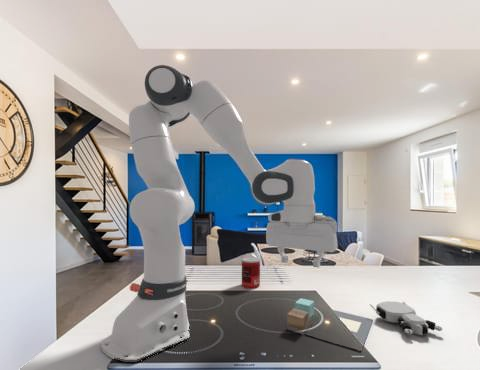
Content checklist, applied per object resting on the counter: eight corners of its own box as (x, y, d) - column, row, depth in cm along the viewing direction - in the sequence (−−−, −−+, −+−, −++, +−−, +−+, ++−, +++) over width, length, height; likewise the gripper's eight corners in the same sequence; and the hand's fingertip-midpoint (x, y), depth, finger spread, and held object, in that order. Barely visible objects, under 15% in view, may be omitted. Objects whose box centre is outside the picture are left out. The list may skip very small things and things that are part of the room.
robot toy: (445, 340, 71) (401, 312, 86) (446, 323, 71) (402, 298, 85) (406, 344, 68) (368, 315, 83) (407, 327, 68) (368, 301, 83)
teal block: (309, 321, 79) (309, 306, 79) (295, 317, 82) (295, 302, 82) (314, 315, 83) (314, 301, 83) (300, 312, 85) (300, 298, 86)
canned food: (260, 283, 114) (260, 257, 115) (259, 289, 106) (259, 261, 107) (242, 282, 115) (242, 256, 116) (240, 288, 107) (241, 261, 108)
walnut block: (302, 335, 71) (302, 318, 71) (287, 330, 73) (287, 313, 74) (308, 328, 75) (308, 312, 75) (293, 324, 77) (293, 308, 77)
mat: (361, 352, 63) (361, 350, 63) (304, 334, 71) (304, 333, 71) (373, 320, 80) (373, 319, 80) (326, 309, 87) (326, 308, 87)
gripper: (339, 216, 73) (341, 267, 72) (272, 214, 84) (273, 258, 83) (333, 217, 67) (335, 272, 67) (263, 215, 79) (263, 262, 78)
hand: (300, 264), depth 75 cm, fingers open, 8 cm apart
